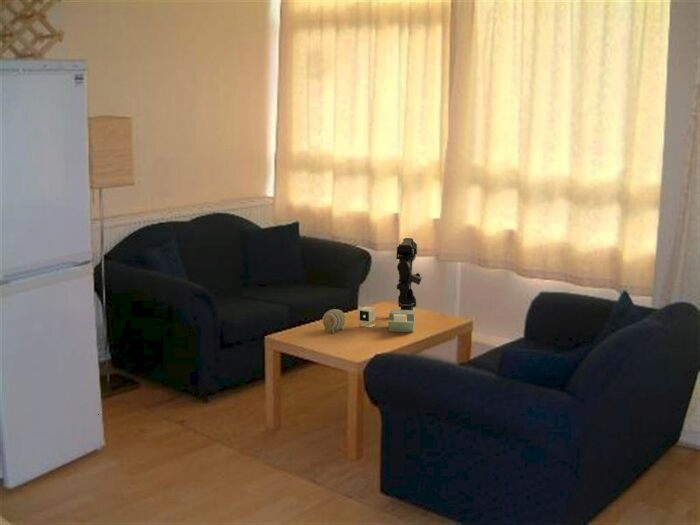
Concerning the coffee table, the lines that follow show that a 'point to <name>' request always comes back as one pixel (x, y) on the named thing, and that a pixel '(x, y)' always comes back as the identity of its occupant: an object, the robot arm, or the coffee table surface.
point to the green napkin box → (409, 313)
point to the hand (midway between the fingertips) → (404, 299)
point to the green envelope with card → (400, 324)
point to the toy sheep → (333, 320)
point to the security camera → (367, 316)
